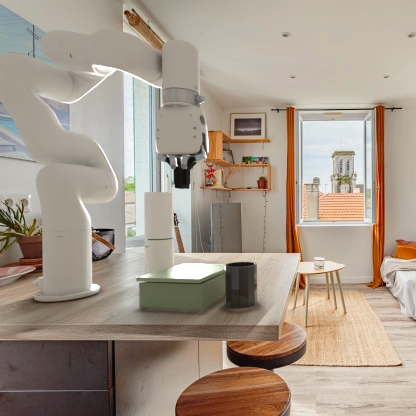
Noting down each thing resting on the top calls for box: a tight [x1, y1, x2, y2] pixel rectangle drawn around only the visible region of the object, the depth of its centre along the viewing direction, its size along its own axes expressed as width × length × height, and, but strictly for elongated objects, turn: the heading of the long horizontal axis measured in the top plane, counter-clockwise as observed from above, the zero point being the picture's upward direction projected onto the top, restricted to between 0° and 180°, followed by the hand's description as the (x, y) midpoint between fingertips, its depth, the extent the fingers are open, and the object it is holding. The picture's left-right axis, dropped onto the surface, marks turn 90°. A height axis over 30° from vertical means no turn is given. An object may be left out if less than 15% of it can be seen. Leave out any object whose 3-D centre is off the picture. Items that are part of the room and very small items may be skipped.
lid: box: [135, 262, 227, 283], centre depth 73 cm, size 18×14×1 cm
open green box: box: [138, 272, 225, 311], centre depth 74 cm, size 18×14×6 cm
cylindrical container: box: [143, 191, 175, 275], centre depth 88 cm, size 7×7×25 cm
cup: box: [224, 261, 258, 310], centre depth 68 cm, size 6×6×9 cm
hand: (182, 188), depth 70 cm, fingers closed
